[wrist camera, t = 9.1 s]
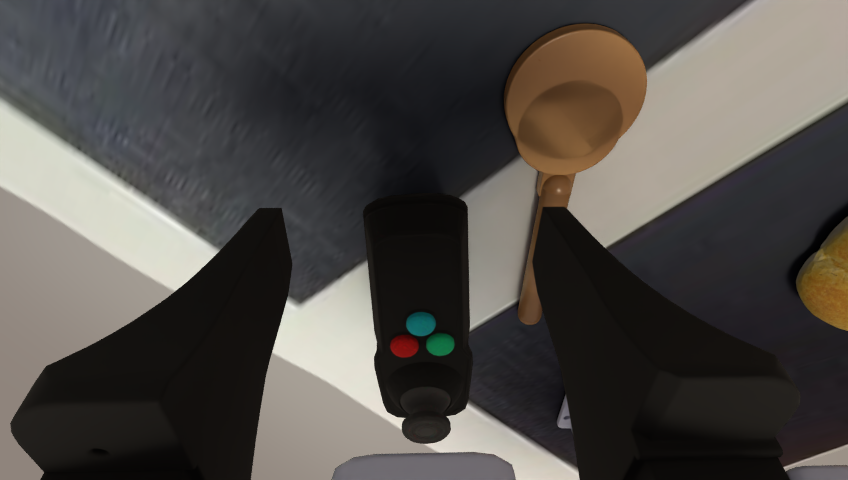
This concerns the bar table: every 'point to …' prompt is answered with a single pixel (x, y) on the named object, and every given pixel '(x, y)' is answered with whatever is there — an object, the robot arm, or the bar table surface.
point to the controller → (420, 308)
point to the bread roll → (827, 279)
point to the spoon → (569, 115)
